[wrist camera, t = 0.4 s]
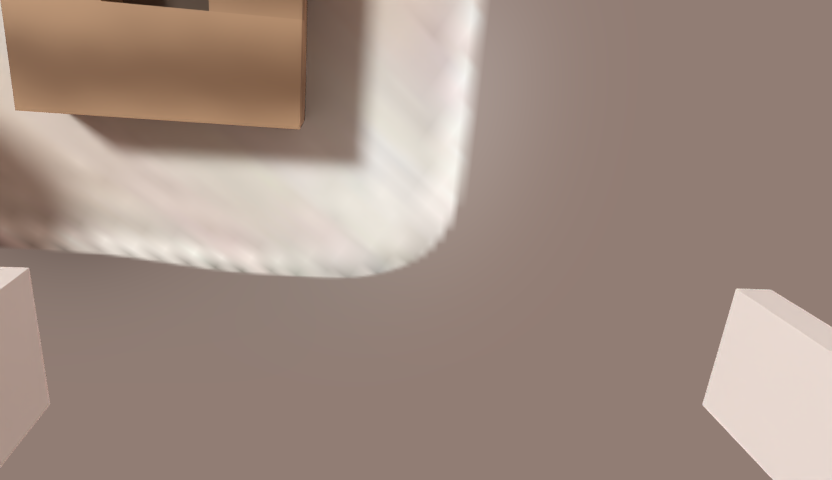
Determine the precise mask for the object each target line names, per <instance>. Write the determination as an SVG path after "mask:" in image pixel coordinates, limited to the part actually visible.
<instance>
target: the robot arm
mask: <svg viewBox="0 0 832 480" xmlns="http://www.w3.org/2000/svg"><path fill="white" fill-rule="evenodd" d="M49 405H50V400H49V393H48V388H47V380H46V375H45V367H44V361H43V354H42V348H41V341H40V335H39V328H38V322H37V315H36V309H35V302H34V296H33V290H32V282H31V276H30V269H29V268H24V267H0V467H1V466H2V465H3V464H4V462H5V461H6V460H7V458H8V457H9V456H10V455H11V453H12V452H13V451H14V450H15V448H16V447H17V446H18V445H19V443H20V442H21V441H22V439H23V438H24V437H25V436H26V434H27V433H28V432H29V431H30V429H31V428H32V427H33V425H34V424H35V423H36V422H37V420H38V419H39V418H40V417H41V415H42V414H43V413H44V412H45V410H46V409H47V408H48V407H49ZM703 406H704V407H705V408H706V409H707V410H708V411H709V412H710V413H711V415H712V416H713V417H714V418H715V419H716V420H717V421H718V422H719V423H720V424H721V425H722V426H723V427H724V428H725V429H726V430H727V431H728V433H729V434H730V435H731V436H732V437H733V438H734V439H735V440H736V441H737V442H738V443H739V444H740V445H741V446H742V447H743V448H744V450H745V451H746V452H747V453H748V454H749V455H750V456H751V457H752V458H753V459H754V460H755V461H756V462H757V463H758V464H759V465H760V466H761V467H762V469H764V471H765V472H766V473H767V474H768V475H769V476H770V477H771V478H772V479H773V480H832V327H831V326H829V325H828V324H826V323H824V322H823V321H821V320H819V319H818V318H816V317H815V316H813V315H811V314H810V313H808V312H806V311H805V310H803V309H802V308H800V307H798V306H797V305H795V304H793V303H792V302H790V301H789V300H787V299H785V298H783V297H782V296H780V295H779V294H777V293H776V292H774V291H772V290H766V289H736V291H735V294H734V298H733V302H732V305H731V308H730V312H729V315H728V319H727V322H726V326H725V329H724V333H723V336H722V339H721V343H720V346H719V350H718V353H717V356H716V360H715V363H714V367H713V370H712V374H711V377H710V381H709V384H708V387H707V391H706V395H705V398H704V401H703Z"/></svg>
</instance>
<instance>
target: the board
mask: <svg viewBox="0 0 832 480" xmlns="http://www.w3.org/2000/svg"><path fill="white" fill-rule="evenodd" d="M1 7H2V15H3V22H4V29H5V37H6V44H7V51H8V59H9V66H10V74H11V81H12V88H13V96H14V103H15V110H19V111H34V112H48V113H63V114H78V115H93V116H108V117H122V118H137V119H152V120H167V121H181V122H196V123H211V124H226V125H241V126H255V127H270V128H285V129H300V128H301V126H302V124H303V122H304V120H305V86H306V42H307V0H1Z"/></svg>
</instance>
